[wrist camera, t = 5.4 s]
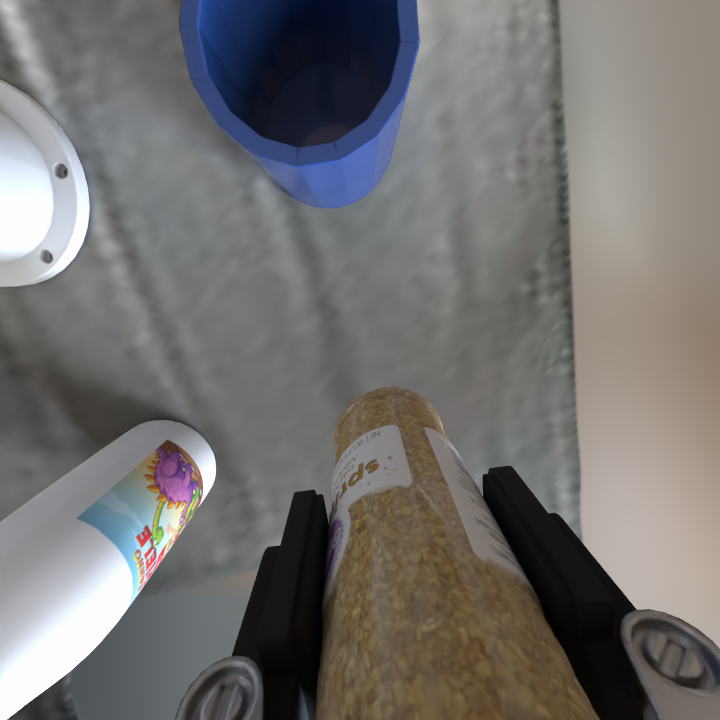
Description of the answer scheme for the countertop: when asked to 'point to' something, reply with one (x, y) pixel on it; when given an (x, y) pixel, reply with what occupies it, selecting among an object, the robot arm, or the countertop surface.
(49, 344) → the countertop surface
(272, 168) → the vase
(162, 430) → the milk bottle
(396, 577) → the sprinkles bottle
